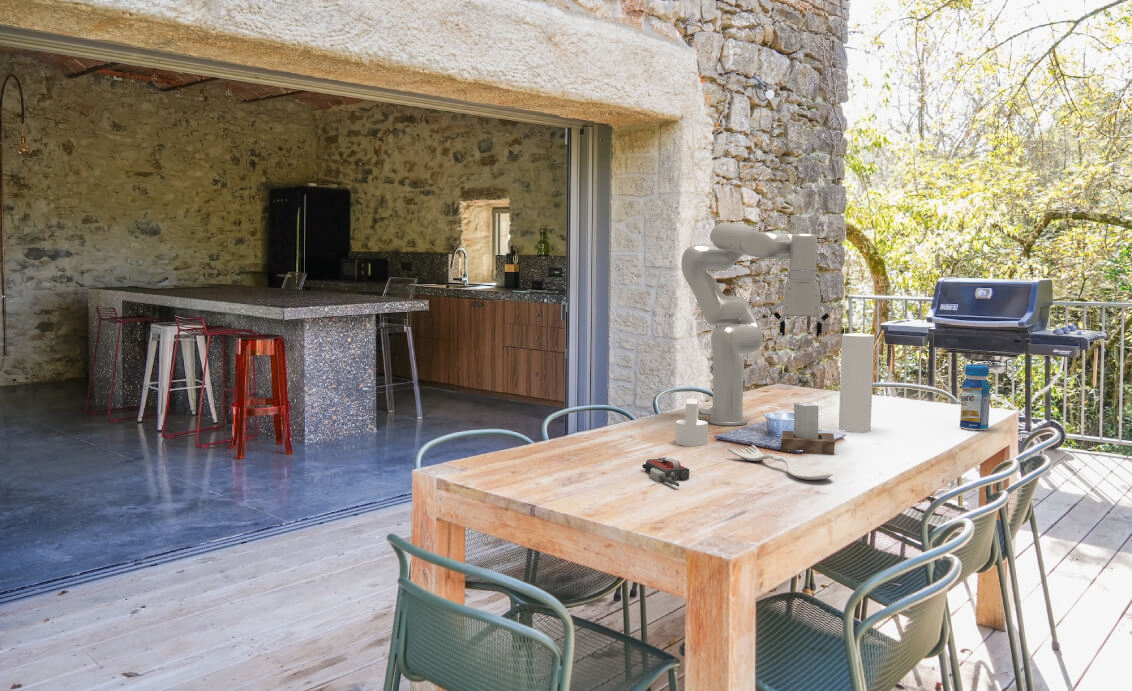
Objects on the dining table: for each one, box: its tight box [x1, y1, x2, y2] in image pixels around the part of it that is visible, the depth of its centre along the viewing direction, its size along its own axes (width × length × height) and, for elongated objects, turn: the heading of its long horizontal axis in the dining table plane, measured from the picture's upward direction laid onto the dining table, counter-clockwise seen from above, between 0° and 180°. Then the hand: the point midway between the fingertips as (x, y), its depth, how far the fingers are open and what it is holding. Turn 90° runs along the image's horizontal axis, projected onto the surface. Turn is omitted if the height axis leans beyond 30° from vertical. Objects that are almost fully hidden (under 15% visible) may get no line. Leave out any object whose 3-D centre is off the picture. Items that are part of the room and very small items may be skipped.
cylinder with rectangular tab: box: [674, 398, 709, 447], centre depth 252 cm, size 9×9×12 cm
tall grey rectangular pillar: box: [838, 332, 875, 433], centre depth 272 cm, size 9×9×30 cm
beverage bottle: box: [959, 364, 992, 432], centre depth 276 cm, size 8×8×20 cm
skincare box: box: [793, 401, 819, 439], centre depth 245 cm, size 6×4×12 cm
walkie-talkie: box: [642, 456, 690, 487], centre depth 211 cm, size 9×4×20 cm
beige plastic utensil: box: [727, 444, 834, 481], centre depth 221 cm, size 9×32×4 cm, turn 28°
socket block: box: [780, 430, 836, 456], centre depth 245 cm, size 14×12×4 cm
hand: (800, 335), depth 256 cm, fingers open, 9 cm apart
